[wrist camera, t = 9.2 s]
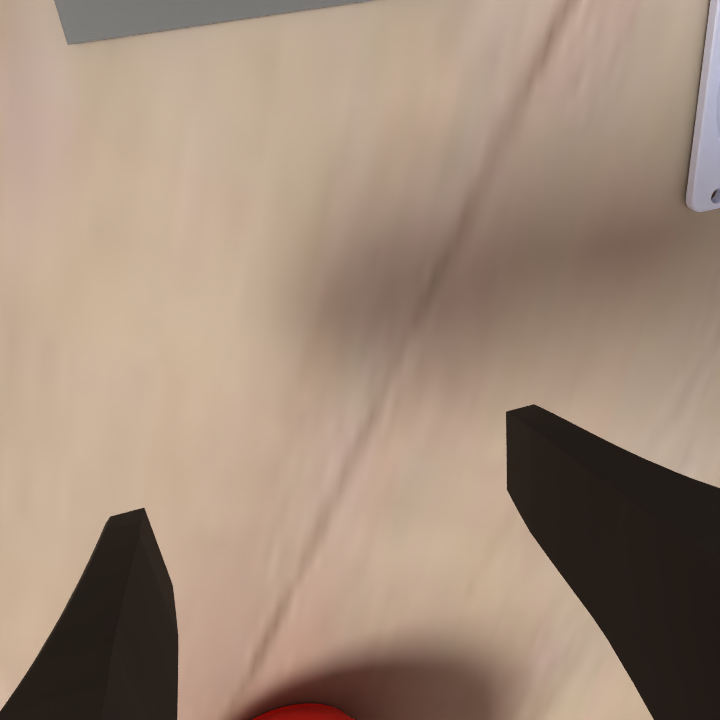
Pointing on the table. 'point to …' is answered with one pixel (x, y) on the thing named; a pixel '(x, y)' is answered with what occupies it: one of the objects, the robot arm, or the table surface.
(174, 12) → the mat
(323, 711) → the ceramic cup
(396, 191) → the table surface
